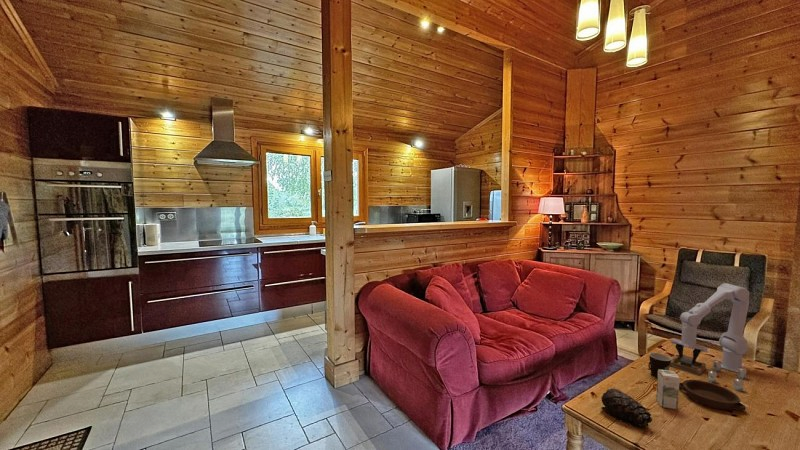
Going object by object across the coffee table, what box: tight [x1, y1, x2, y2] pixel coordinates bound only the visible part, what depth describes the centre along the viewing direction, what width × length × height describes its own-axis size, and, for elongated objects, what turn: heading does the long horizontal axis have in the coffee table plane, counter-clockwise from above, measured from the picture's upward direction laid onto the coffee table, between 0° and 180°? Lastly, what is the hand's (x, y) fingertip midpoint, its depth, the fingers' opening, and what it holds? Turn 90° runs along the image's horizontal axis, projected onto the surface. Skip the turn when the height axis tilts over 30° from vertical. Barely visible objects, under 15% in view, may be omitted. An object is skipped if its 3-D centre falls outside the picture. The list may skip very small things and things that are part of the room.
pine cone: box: [601, 387, 653, 432], centre depth 133 cm, size 10×18×10 cm, turn 38°
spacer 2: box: [712, 359, 722, 373], centre depth 169 cm, size 3×3×5 cm
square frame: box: [669, 355, 707, 376], centre depth 172 cm, size 12×12×2 cm
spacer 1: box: [707, 369, 718, 384], centre depth 159 cm, size 3×3×5 cm
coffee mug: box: [648, 352, 672, 379], centre depth 164 cm, size 12×9×10 cm
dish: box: [679, 379, 747, 412], centre depth 144 cm, size 18×22×5 cm
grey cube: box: [679, 354, 695, 369], centre depth 172 cm, size 4×4×5 cm
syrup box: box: [655, 369, 680, 411], centre depth 141 cm, size 6×6×14 cm
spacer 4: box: [733, 377, 744, 393], centre depth 152 cm, size 3×3×5 cm
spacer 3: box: [736, 366, 748, 381], centre depth 162 cm, size 3×3×5 cm
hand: (687, 360), depth 172 cm, fingers closed on grey cube, 4 cm apart
